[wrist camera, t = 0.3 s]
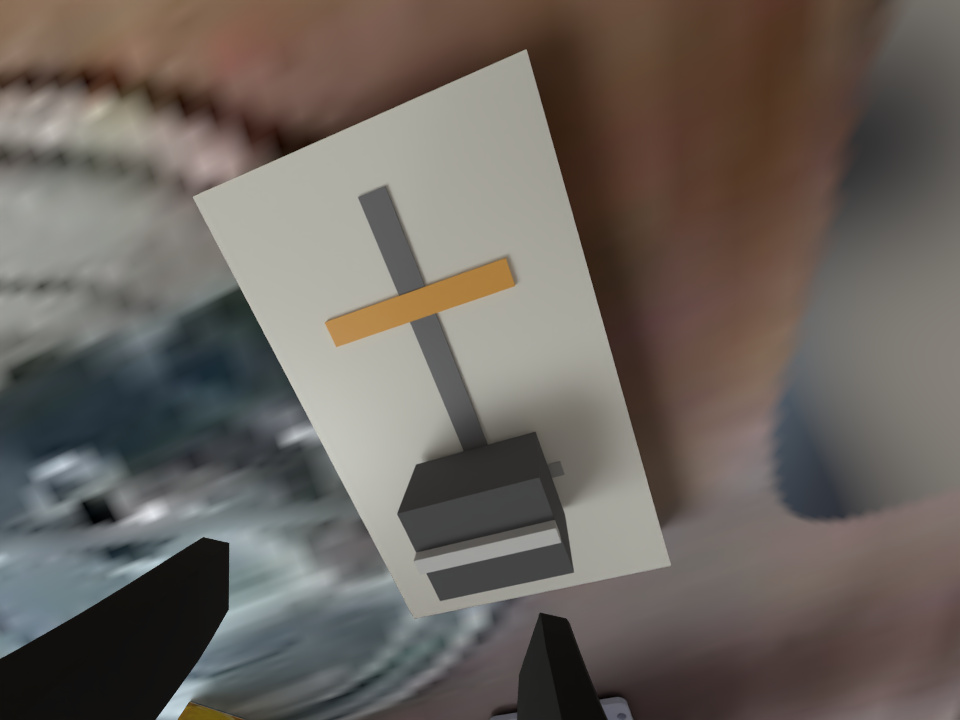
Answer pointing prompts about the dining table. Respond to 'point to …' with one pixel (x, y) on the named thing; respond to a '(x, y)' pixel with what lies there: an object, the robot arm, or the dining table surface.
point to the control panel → (443, 315)
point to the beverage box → (204, 713)
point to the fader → (486, 519)
